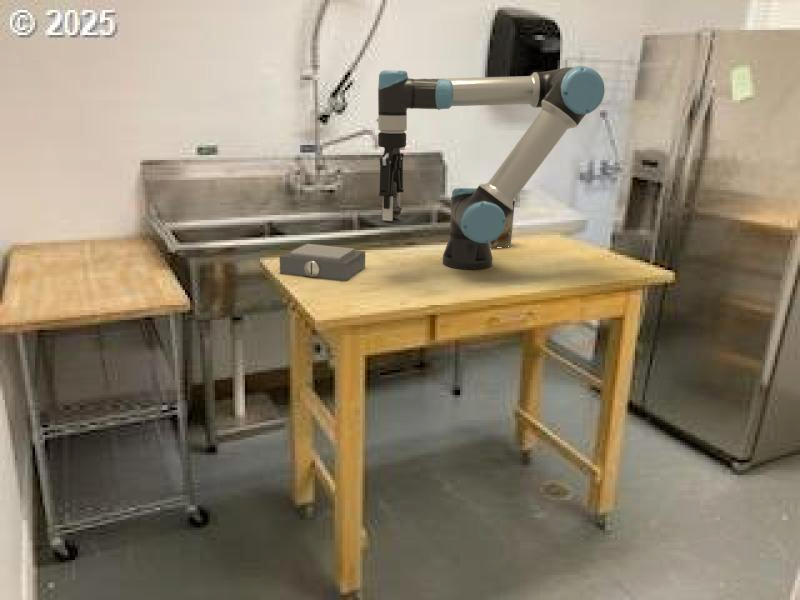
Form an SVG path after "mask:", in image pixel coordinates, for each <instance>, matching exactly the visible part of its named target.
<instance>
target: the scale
mask: <svg viewBox="0 0 800 600" xmlns="http://www.w3.org/2000/svg"><path fill="white" fill-rule="evenodd" d="M364 269H366V250H358V249H357V250H356V249H355V248H351V247H345V246H344V247H343V246H342V247H341V246H332V245H331V246H330V245H324V244H315V243H312V244H311V243H306V244H302V245H299V246H297V247H296V248H294V249H293V248H292V250H289V251H287V252H285V253H283V254H281V255H279V274H282V275H290V276H291V275H292V276H297V277H298V276H300V277H306V276H308V278H314V277H317V278H316V279H323V278H324V279H325V280H331V281H332V280H333V281H341V282H347V281H349V280H350V279H352V278H353V277H354V276H356V275H358V274H359V273H360V272H361V271H363V270H364ZM324 279H323V280H324Z"/></svg>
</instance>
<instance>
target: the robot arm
mask: <svg viewBox="0 0 800 600" xmlns="http://www.w3.org/2000/svg"><path fill="white" fill-rule="evenodd" d="M377 87H378V89H377V93H378V94H377V96H378V97H377V98H378V99H377V101H378V102H377V103H378V107H377V108H378V109H377V112H378V113H377V115H378V118H376V122H377V123H378V126H377V127H378V130H379V131H380V132H378V134H377V145H378V147H379V148H383V149H384V150H383V154H382V156H381V157H379V193H378V197H382V207H383V208H382V207H381V208H382V210H381V215H382V219H381V221H382V220H387V221H393V196H392V187H393V181H394V182H396V184H397V194H398V195H397V205H398V206H399V207H400V208H401V193H404V156H405V155H404V153H403V152H401V149H402V148H405V147H406V146H407V134H406V131H407V126H408V125H407V122H408V121H407V119H408V113H407V111H408V109H410V110H412V109H415V110H418V109H419V110H439V111H440V110H449V109H450V108H451V107H467V106H468V107H471V106H502V105H503V106H506V105H507V106H508V105H511V106H512V105H530V106H531V107H532V108H534V109H535V108H541V111H540V112H539V114H537V116H536V118H534V120H533V122H532V123H531V124H530V125H529V127H528V128H527V130H526V131H525V132H524V134H523V135H522V137H521V138H520V139H519V140H518V141H517V143H516V144H515V146H514V147H513V149H511V151H510V153H509V154H508V156H506V158H505V160H504V161H503V162H502V163H501V165H500V166H499V167H498V169H497V170H496V171H495V173H494V174H493V175H492V177H491V178H490V179H489V181H488V182H487V183H480V184H479V185H478V186H477V188H476V187H475V188H474V187H471V188H470V187H469V188H468V187H465V188H463V187H461V188H459V187H456V188H454V189H453V190H452V192H451V197H450V201H451V202H450V203H451V204H450V222H449V223H450V225H449V238H448V241H447V243H446V246H445V249H444V252H443V254H442V263H443V265H445V266H447V267H450V268H453V269H459V270H475V271H476V270H482V269H483V270H485V269H488V268H491V267H492V265H493V261H494V260H493V259H494V258H493V253H492V249H490V245H489V242H491V241H493V240H495V239H497V238H498V237H499V236H500V235H501V234H502V232H503V230H504V228H505V223H506V219H507V218H508V216H509V215H510V213H511V212H512V211H513V200H514V201H515V199H516V198H517V197H518V196H519V194H520V193H521V191H522V190H523V188H524V187H525V186H526V185H527V183H528V182H529V181H530V179H531V178H532V177H533V175H534V174H535V173H536V172H537V170H538V169H539V168H540V166H541V165H542V164H543V162H544V161H545V160H546V158H547V157H548V156H549V155H550V153H551V152H552V150H553V149H554V147H555V146H556V145H557V144H558V143H559V141H560V140H561V138H562V137H563V136H564V134H566V132H567V131H568V130H569V129H573V128H577V126H579V124H580V123H581V121H582V120H583V119H584V117H585V116H586V115H588V114H590V113H593V112H594V111H595V110H597V109H598V108H599V106H600V105H601V104H602V102H603V99H604V96H605V91H606V90H605V83H604V79H603V78H602V75H600V73H599V72H598V71H596V70H595V69H593V68H591V67H588V66H584V65H578V66H575V67H574V66H573V67H572V66H571V67H562V68H558V69H553V70H548V71H535V72H533V73H531V74H530V75H527V76H526V75H524V76H523V75H522V76H517V75H516V76H487V77H458V78H457V77H455V78H452V77H451V78H410V77H409V76H408V72H407V71H406V70H392V69H391V70H390V69H389V70H386V69H385V70H382V71H380V72H379V74H378V86H377ZM400 148H401V149H400ZM398 217H401V214H400V215H399V216H398Z"/></svg>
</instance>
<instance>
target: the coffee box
mask: <svg viewBox="0 0 800 600" xmlns="http://www.w3.org/2000/svg"><path fill="white" fill-rule="evenodd" d="M515 203H516V200H515V199H514V200H513V211H512V212H511V213H510V215H509V216H508V218H507V219H506V223H505V228H504V230H503V232H502V234H501V235H500V236H499V237H498V238H497V239H495V240H493V241H491V242H489V245H490V248H497V247H508V246H509V247H510V246H511V247H512V237H513V236H512V235H513V227H514V226H513V225H514V215H515V214H514V213H515ZM511 247H510V248H511Z"/></svg>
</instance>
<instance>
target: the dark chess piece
mask: <svg viewBox="0 0 800 600" xmlns="http://www.w3.org/2000/svg"><path fill="white" fill-rule="evenodd" d="M397 195H398V194H397V184H396V182H394V181H393V187H392V196H393V221H387V220H382V219H381V222H382V223H386V224H397V223H401V219H399V218H398V217H400V216H401V214H402V213H401V212H402V210H403V208H402V207H401V206H400V207H399V206H398V205H397ZM382 208H383V206H381V207H380V210H381V211H382ZM399 215H400V216H399Z"/></svg>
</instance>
